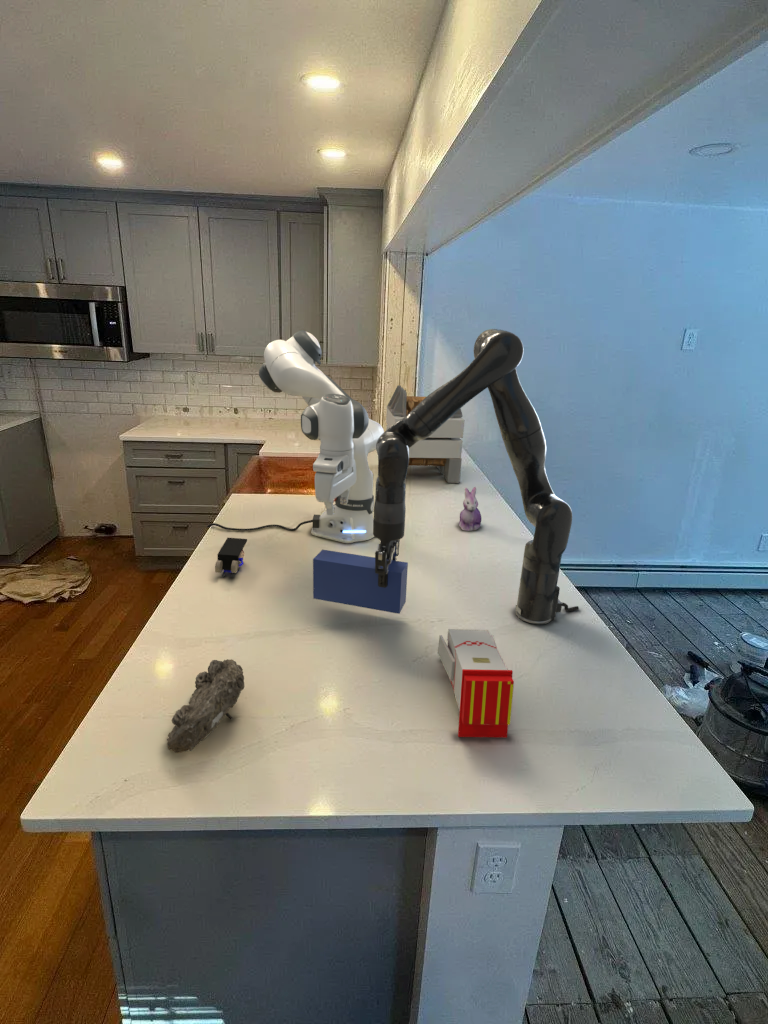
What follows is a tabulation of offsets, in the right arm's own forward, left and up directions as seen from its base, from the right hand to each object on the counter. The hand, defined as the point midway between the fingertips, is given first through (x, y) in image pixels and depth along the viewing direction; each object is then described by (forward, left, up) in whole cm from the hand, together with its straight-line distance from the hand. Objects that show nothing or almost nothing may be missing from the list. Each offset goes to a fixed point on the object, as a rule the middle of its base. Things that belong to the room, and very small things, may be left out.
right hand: (386, 580), depth 140 cm
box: (+6, -3, -7) cm, 10 cm away
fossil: (+38, +33, -12) cm, 51 cm away
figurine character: (+41, -32, -12) cm, 53 cm away
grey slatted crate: (-36, -135, -12) cm, 141 cm away
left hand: (+11, -19, +12) cm, 25 cm away
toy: (-14, +29, -12) cm, 34 cm away
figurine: (-41, -64, -12) cm, 77 cm away
